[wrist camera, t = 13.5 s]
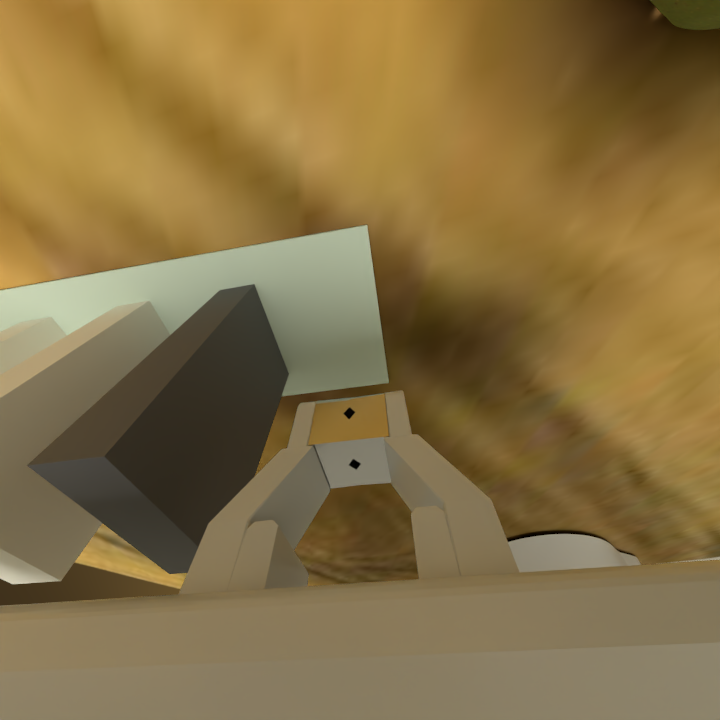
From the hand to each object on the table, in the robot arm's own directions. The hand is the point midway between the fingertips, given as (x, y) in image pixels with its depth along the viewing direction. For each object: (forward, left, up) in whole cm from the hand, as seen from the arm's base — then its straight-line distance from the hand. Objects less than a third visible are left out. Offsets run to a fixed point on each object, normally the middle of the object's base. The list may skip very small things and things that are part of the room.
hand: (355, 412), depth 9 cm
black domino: (0, +5, -6) cm, 8 cm away
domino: (0, +10, -6) cm, 12 cm away
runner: (0, +15, -6) cm, 16 cm away
